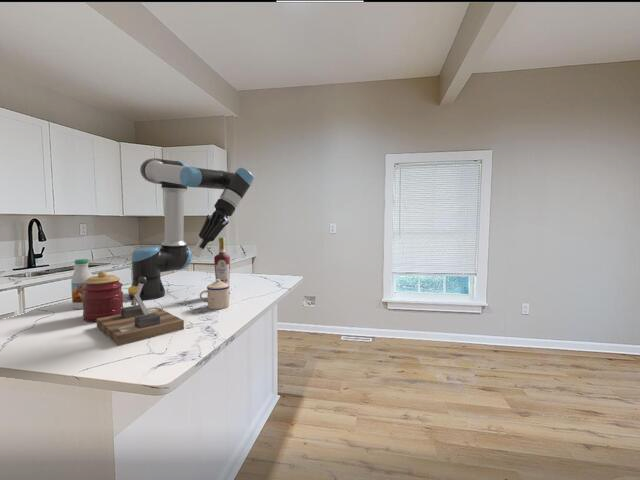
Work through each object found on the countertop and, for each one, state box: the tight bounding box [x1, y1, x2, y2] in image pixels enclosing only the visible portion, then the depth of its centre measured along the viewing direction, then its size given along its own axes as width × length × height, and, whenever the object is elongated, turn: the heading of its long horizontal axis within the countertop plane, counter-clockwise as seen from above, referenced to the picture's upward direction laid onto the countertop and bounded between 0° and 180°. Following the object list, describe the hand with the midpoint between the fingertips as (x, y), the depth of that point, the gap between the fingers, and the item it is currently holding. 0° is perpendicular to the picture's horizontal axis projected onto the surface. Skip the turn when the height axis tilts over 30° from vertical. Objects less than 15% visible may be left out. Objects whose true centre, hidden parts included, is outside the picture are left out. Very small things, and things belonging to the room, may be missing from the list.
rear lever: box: [130, 276, 147, 306], centre depth 119 cm, size 3×3×11 cm
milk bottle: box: [70, 258, 93, 310], centre depth 137 cm, size 8×8×20 cm
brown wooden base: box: [96, 304, 185, 347], centre depth 113 cm, size 23×20×6 cm
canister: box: [81, 270, 124, 323], centre depth 125 cm, size 13×13×18 cm
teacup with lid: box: [199, 279, 230, 310], centre depth 139 cm, size 12×9×12 cm
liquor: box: [213, 237, 231, 295], centre depth 156 cm, size 7×7×28 cm
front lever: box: [127, 286, 149, 315], centre depth 106 cm, size 3×3×11 cm
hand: (194, 255), depth 123 cm, fingers closed
